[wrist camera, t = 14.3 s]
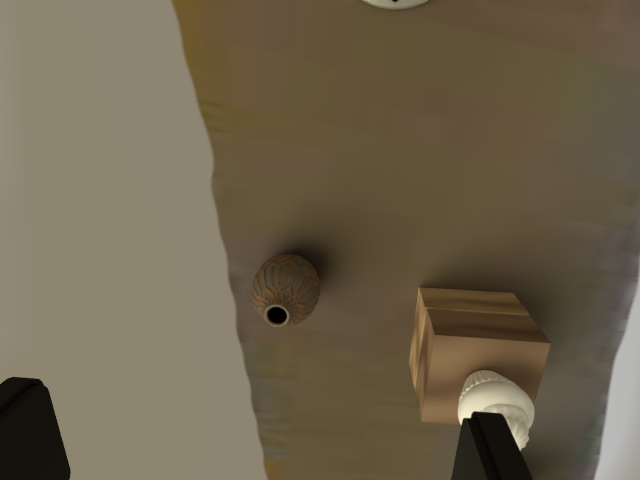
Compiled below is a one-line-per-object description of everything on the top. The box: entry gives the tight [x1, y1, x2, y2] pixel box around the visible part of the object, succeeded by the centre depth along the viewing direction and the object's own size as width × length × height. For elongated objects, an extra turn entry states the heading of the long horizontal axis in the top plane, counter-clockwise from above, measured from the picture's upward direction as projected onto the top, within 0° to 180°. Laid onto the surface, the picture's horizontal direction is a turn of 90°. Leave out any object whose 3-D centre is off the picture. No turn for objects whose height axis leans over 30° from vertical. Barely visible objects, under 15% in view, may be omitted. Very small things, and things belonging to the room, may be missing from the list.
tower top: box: [415, 309, 551, 425], centre depth 40 cm, size 10×10×4 cm
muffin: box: [458, 370, 534, 451], centre depth 34 cm, size 6×6×7 cm
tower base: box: [409, 287, 529, 388], centre depth 44 cm, size 10×10×4 cm
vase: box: [251, 254, 320, 327], centre depth 41 cm, size 7×7×9 cm
